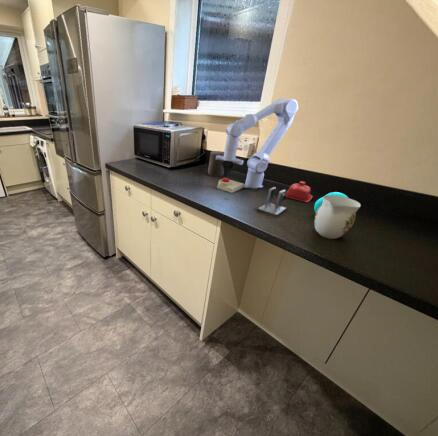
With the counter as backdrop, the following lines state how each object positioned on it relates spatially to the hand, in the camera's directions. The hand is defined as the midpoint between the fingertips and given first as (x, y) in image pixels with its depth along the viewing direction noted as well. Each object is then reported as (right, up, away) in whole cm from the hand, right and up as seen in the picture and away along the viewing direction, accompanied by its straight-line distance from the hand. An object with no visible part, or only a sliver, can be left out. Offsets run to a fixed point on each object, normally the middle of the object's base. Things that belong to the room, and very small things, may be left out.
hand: (226, 175), depth 123 cm
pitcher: (+25, -28, -37) cm, 53 cm away
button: (0, -3, +2) cm, 4 cm away
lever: (+16, -14, -20) cm, 29 cm away
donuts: (+34, -22, -25) cm, 48 cm away
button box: (+4, -6, +4) cm, 8 cm away
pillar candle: (+2, +5, +25) cm, 25 cm away
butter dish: (+32, -13, -8) cm, 36 cm away
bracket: (+13, -19, -20) cm, 31 cm away
